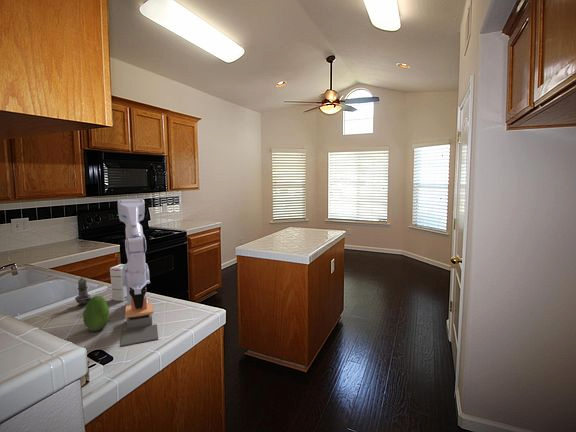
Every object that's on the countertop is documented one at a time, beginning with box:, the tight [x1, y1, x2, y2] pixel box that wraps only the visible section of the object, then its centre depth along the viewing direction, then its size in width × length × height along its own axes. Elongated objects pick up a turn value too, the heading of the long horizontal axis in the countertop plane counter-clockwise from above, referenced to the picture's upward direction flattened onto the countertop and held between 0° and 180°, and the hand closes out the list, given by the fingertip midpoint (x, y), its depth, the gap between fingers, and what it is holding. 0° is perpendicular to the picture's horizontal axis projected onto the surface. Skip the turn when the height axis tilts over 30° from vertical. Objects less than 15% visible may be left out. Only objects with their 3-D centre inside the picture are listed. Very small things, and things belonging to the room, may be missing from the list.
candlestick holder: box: [74, 276, 92, 309], centre depth 131 cm, size 6×6×12 cm
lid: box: [124, 296, 154, 319], centre depth 116 cm, size 9×9×6 cm
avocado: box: [82, 295, 110, 332], centre depth 111 cm, size 8×8×12 cm
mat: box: [120, 323, 159, 347], centre depth 108 cm, size 11×11×1 cm
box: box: [126, 314, 153, 329], centre depth 117 cm, size 8×8×3 cm
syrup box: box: [109, 263, 127, 302], centre depth 139 cm, size 6×6×14 cm
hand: (139, 306), depth 117 cm, fingers closed on lid, 2 cm apart
